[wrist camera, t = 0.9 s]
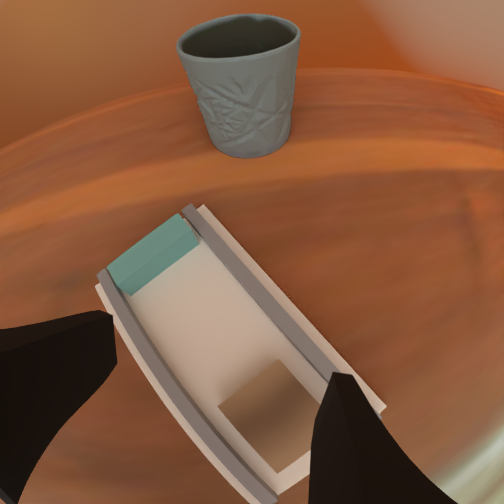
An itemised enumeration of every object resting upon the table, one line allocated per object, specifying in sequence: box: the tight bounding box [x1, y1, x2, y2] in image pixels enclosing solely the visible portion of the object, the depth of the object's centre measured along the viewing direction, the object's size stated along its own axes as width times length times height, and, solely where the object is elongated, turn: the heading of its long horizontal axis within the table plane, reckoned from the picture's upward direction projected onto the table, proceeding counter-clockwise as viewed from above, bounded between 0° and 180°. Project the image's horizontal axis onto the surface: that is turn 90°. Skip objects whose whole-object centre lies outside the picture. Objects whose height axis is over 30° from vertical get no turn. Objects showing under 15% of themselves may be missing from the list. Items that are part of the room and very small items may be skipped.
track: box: [95, 203, 387, 504], centre depth 20 cm, size 22×12×3 cm, turn 39°
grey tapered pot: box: [176, 14, 301, 158], centre depth 25 cm, size 10×10×12 cm
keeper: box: [217, 359, 320, 474], centre depth 17 cm, size 6×5×2 cm
